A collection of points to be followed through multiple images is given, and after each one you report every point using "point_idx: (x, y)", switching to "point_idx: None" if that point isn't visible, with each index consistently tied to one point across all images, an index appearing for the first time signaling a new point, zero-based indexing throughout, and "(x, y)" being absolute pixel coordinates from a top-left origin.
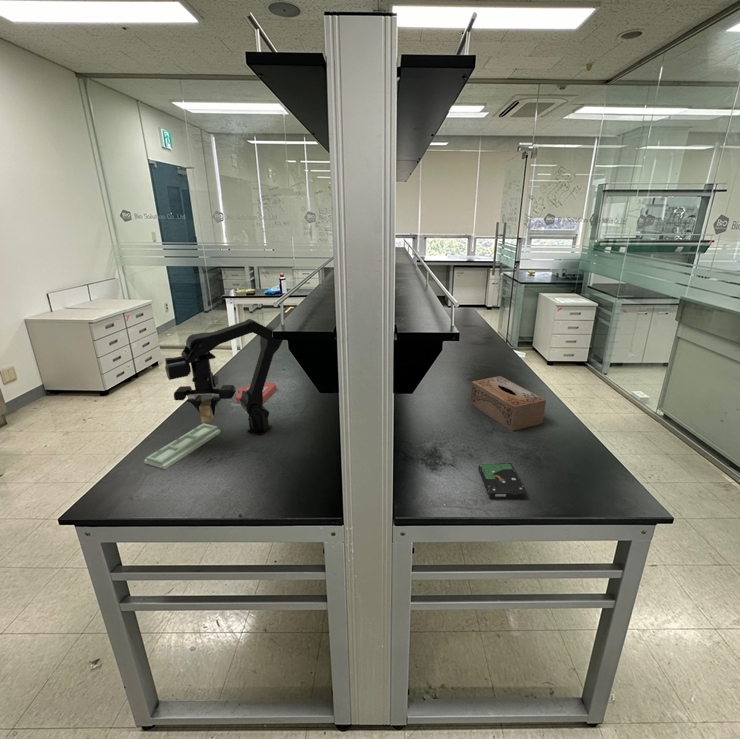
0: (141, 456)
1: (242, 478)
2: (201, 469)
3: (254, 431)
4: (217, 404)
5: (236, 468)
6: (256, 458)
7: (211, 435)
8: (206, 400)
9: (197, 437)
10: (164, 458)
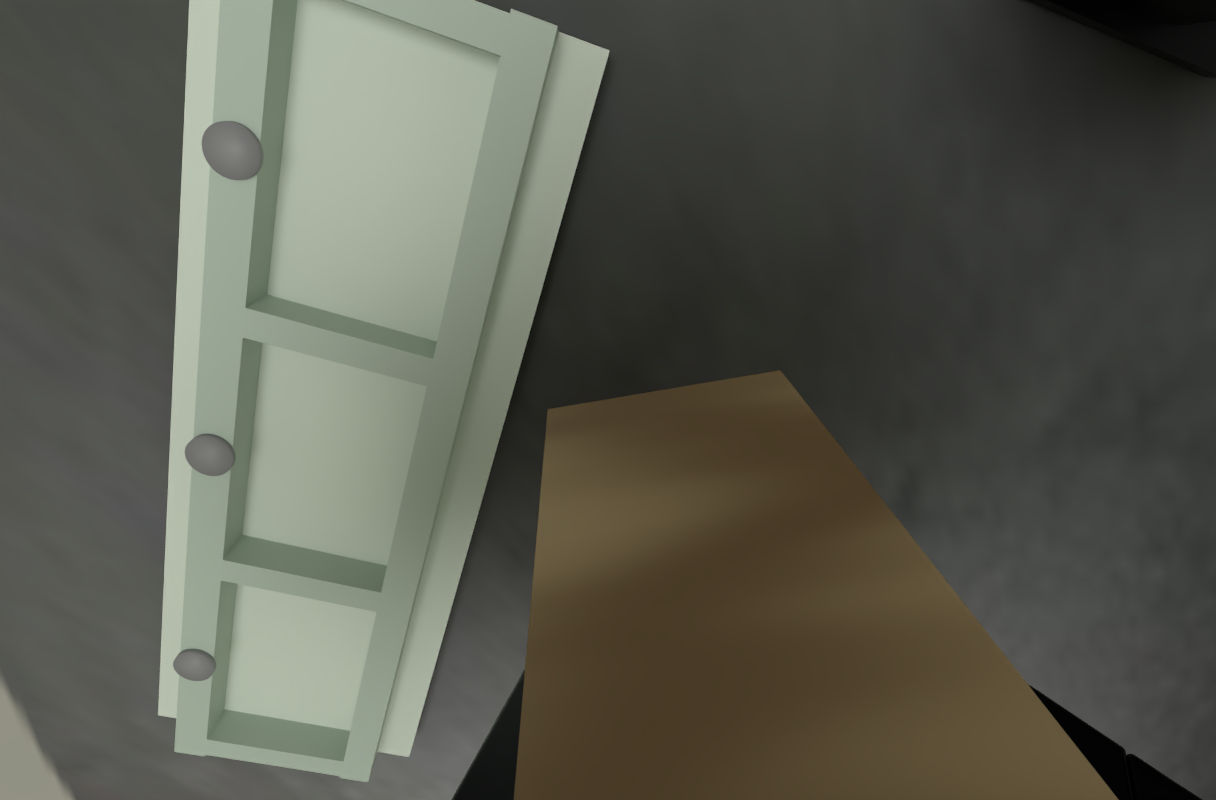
0: (39, 612)
1: None
2: None
3: (1136, 14)
4: (1161, 790)
5: None
6: (1139, 539)
7: (555, 234)
8: None
9: (436, 385)
10: (358, 744)
